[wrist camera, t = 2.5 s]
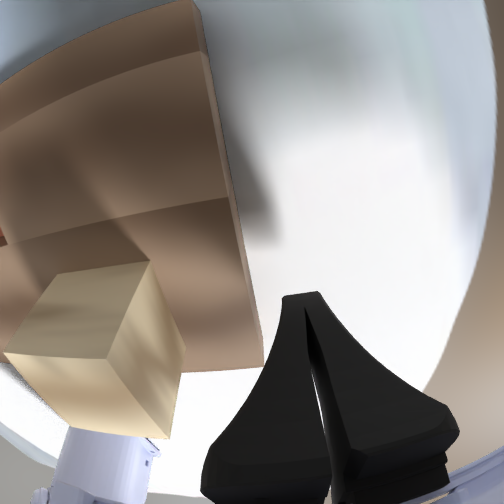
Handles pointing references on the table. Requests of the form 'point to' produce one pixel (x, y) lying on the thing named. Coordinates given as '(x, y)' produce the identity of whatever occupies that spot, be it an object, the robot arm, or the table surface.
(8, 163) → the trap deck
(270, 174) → the table surface
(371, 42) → the table surface
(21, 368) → the pine block
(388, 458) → the robot arm
